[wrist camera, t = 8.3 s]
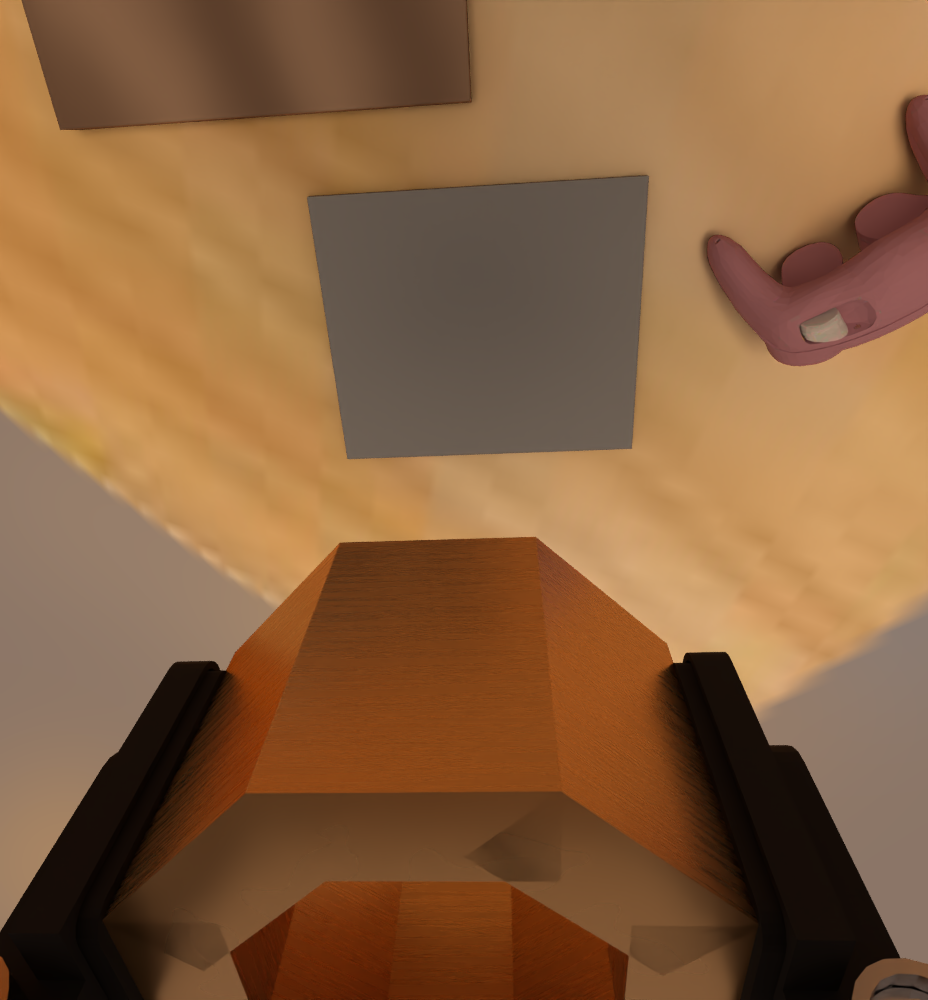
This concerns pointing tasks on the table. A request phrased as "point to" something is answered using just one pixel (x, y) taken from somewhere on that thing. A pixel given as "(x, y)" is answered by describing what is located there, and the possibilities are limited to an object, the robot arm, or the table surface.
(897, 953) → the robot arm
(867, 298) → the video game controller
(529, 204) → the rubber mat
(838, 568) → the table surface
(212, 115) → the post stand
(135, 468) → the table surface
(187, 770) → the wooden ring
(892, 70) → the table surface
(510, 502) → the table surface
